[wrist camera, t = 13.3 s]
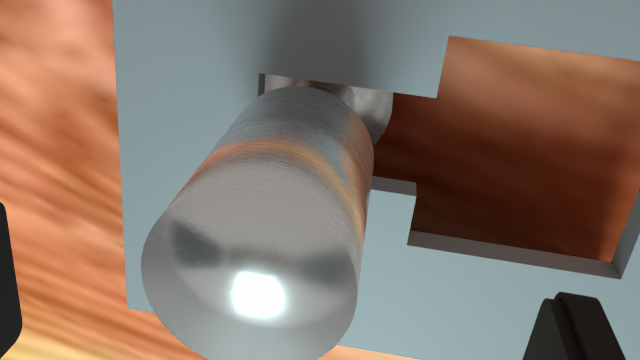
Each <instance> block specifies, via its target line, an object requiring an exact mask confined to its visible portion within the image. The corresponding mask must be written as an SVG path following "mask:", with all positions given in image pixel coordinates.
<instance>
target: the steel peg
mask: <svg viewBox="0 0 640 360" xmlns="http://www.w3.org/2000/svg"><path fill="white" fill-rule="evenodd" d="M392 104H393V92H388V91H381V90H374V89H367V88H360V87H353V86H346V85H339V84H332V83H325V82H318V81H311V80H304V79H297V78H290V77H283V76H276V75H269V74H266V76H265V91H264V94H262V95H260V96H259V97H257V98H256V99H254V100H253V101H252V102H250V103H249V104H248V105H247V106H246V107H245V108H244V110H243V111H242V112H241V113H240V114H239V116H238V117H237V118H236V120H235V121H234V122H233V123H232V125H231V126H230V127H229V129H228V130H227V131H226V132H225V134H224V135H223V136H222V138H221V139H220V140H219V141H218V143H217V144H216V145H215V147H214V148H213V149H212V150H211V152H210V153H209V154H208V156H207V157H206V158H205V159H204V161H203V162H202V163H201V165H200V166H199V167H198V168H197V170H196V171H195V172H194V174H193V175H192V176H191V177H190V179H189V180H188V181H187V183H186V184H185V185H184V186H183V188H182V189H181V190H180V192H179V193H178V194H177V195H176V197H175V198H174V199H173V201H172V202H171V203H170V204H169V206H168V207H167V208H166V210H165V211H164V212H163V213H162V215H161V216H160V217H159V219H158V220H157V221H156V222H155V224H154V225H153V227H152V229H151V230H150V232H149V234H148V236H147V238H146V241H145V244H144V246H143V251H142V256H141V275H142V282H143V286H144V290H145V293H146V296H147V298H148V301H149V303H150V305H151V307H152V309H153V310H154V312H155V314H156V315H157V317H158V318H159V320H160V321H161V322H162V324H163V325H164V326H165V327H166V328H167V329H168V330H169V331H170V333H171V334H172V335H174V336H175V337H176V338H177V339H178V340H179V341H180V342H182V343H183V344H184V345H186V346H187V347H189V348H190V349H191V350H193V351H195V352H196V353H198V354H200V355H202V356H203V357H205V358H208V359H210V360H316V359H318V358H320V357H321V356H323V355H324V354H326V353H327V352H328V351H330V350H331V349H332V348H333V347H334V346H335V345H336V344H337V343H338V342H339V341H340V340H341V339H342V338H343V336H344V335H345V333H346V331H347V330H348V328H349V326H350V324H351V322H352V319H353V317H354V313H355V309H356V305H357V297H358V289H359V281H360V272H361V264H362V256H363V248H364V240H365V231H366V223H367V215H368V207H369V199H370V190H371V182H372V174H373V165H374V151H373V146H374V145H375V144H376V143H377V142H378V140H379V139H380V138H381V136H382V135H383V133H384V131H385V130H386V128H387V125H388V123H389V120H390V117H391V112H392Z"/></svg>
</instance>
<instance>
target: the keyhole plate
mask: <svg viewBox="0 0 640 360" xmlns="http://www.w3.org/2000/svg"><path fill="white" fill-rule="evenodd" d="M112 5H113V25H114V45H115V66H116V86H117V107H118V127H119V147H120V168H121V188H122V208H123V229H124V249H125V270H126V290H127V308H129V309H135V310H140V311H146V312H152V313H155V312H154V310H153V309H152V307H151V305H150V303H149V301H148V298H147V296H146V293H145V290H144V286H143V282H142V275H141V256H142V251H143V246H144V244H145V241H146V238H147V236H148V234H149V232H150V230H151V229H152V227H153V225H154V224H155V222H156V221H157V220H158V219H159V217H160V216H161V215H162V213H163V212H164V211H165V210H166V208H167V207H168V206H169V204H170V203H171V202H172V201H173V199H174V198H175V197H176V195H177V194H178V193H179V192H180V190H181V189H182V188H183V186H184V185H185V184H186V183H187V181H188V180H189V179H190V177H191V176H192V175H193V174H194V172H195V171H196V170H197V168H198V167H199V166H200V165H201V163H202V162H203V161H204V159H205V158H206V157H207V156H208V154H209V153H210V152H211V150H212V149H213V148H214V147H215V145H216V144H217V143H218V141H219V140H220V139H221V138H222V136H223V135H224V134H225V132H226V131H227V130H228V129H229V127H230V126H231V125H232V123H233V122H234V121H235V120H236V118H237V117H238V116H239V114H240V113H241V112H242V111H243V110H244V108H245V107H246V106H247V105H248V104H249V103H250V102H252V101H253V100H254V99H256V98H257V97H259V96H260V95H262V94H264V91H265V76H266V74H269V75H276V76H283V77H290V78H297V79H304V80H311V81H318V82H325V83H332V84H339V85H346V86H353V87H360V88H367V89H374V90H381V91H388V92H395V93H402V94H409V95H416V96H423V97H430V98H437V93H438V88H439V83H440V78H441V73H442V68H443V63H444V58H445V53H446V48H447V43H448V38H449V36H456V37H463V38H471V39H478V40H486V41H493V42H500V43H508V44H515V45H523V46H530V47H538V48H545V49H553V50H560V51H567V52H575V53H582V54H590V55H597V56H605V57H612V58H619V59H627V60H634V61H640V0H112ZM415 201H416V182H409V181H402V180H396V179H389V178H383V177H376V176H372V182H371V190H370V199H369V207H368V215H367V223H366V231H365V240H364V248H363V256H362V264H361V272H360V281H359V289H358V297H357V305H356V309H355V313H354V317H353V319H352V322H351V324H350V326H349V328H348V330H347V331H346V333H345V335H344V336H343V338H342V339H341V340H340V341H339V342H338V343H337V344H336V345H341V346H347V347H352V348H358V349H364V350H369V351H375V352H381V353H387V354H392V355H398V356H404V357H410V358H415V359H421V360H522V359H523V356H524V353H525V350H526V347H527V345H528V342H529V339H530V336H531V333H532V330H533V327H534V324H535V321H536V318H537V315H538V312H539V309H540V306H541V304H542V302H543V300H544V299H546V298H549V299H554V298H555V296H556V295H557V293H558V292H567V293H572V294H578V295H584V296H589V297H595V298H597V299H598V300H599V301H600V303H601V305H602V307H603V310H604V312H605V314H606V316H607V318H608V321H609V323H610V325H611V327H612V330H613V332H614V334H615V336H616V338H617V341H618V343H619V345H620V347H621V349H622V352H623V354H624V356H625V358H626V360H640V189H639V192H638V195H637V197H636V200H635V202H634V205H633V207H632V210H631V212H630V215H629V218H628V220H627V223H626V225H625V228H624V230H623V233H622V235H621V238H620V241H619V243H618V246H617V248H616V251H615V253H614V256H613V258H612V261H611V262H607V261H600V260H594V259H588V258H581V257H575V256H569V255H563V254H556V253H550V252H544V251H537V250H531V249H525V248H518V247H512V246H506V245H500V244H493V243H487V242H481V241H474V240H468V239H462V238H456V237H449V236H443V235H437V234H430V233H424V232H418V231H412V230H410V226H411V221H412V216H413V211H414V206H415Z"/></svg>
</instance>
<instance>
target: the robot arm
mask: <svg viewBox="0 0 640 360" xmlns="http://www.w3.org/2000/svg"><path fill="white" fill-rule="evenodd" d="M21 329H22V316H21V309H20V302H19V296H18V289H17V282H16V276H15V269H14V262H13V256H12V249H11V242H10V236H9V229H8V222H7V216H6V210H5V207H4V205H3V204H2V203H0V358H1V357H2V356H3V355H4V354H5V353H6V352H7V351H8V350H9V349H10V348H11V346H12V345H13V344H14V343H15V342H16V341H17V339H18V337H19V335H20V332H21ZM522 360H626V358H625V356H624V354H623V352H622V349H621V347H620V345H619V343H618V341H617V338H616V336H615V334H614V332H613V330H612V327H611V325H610V323H609V321H608V318H607V316H606V314H605V312H604V310H603V307H602V305H601V303H600V301H599V300H598V299H597V298H595V297H589V296H584V295H578V294H572V293H567V292H558V293H557V295H556V296H555V298H554V299H549V298H546V299H544V300H543V302H542V304H541V306H540V309H539V312H538V315H537V318H536V321H535V324H534V327H533V330H532V333H531V336H530V339H529V342H528V345H527V347H526V350H525V353H524V356H523V359H522Z"/></svg>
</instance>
